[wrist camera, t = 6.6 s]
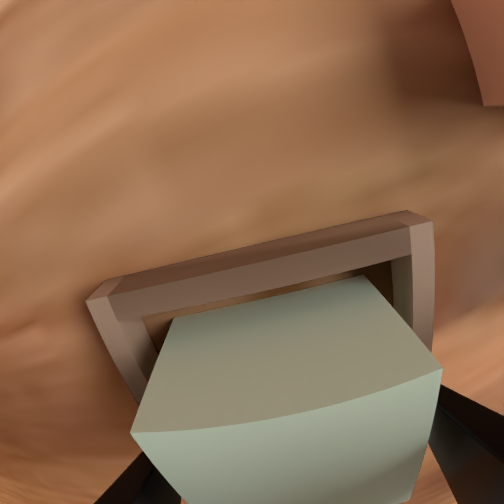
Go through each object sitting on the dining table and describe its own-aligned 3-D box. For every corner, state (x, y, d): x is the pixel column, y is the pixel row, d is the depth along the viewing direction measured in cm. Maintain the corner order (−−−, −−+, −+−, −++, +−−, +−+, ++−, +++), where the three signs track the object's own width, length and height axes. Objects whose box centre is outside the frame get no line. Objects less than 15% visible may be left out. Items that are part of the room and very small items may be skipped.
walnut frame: (405, 420, 11) (416, 443, 10) (199, 464, 12) (196, 489, 11) (407, 210, 9) (433, 220, 7) (105, 280, 9) (85, 300, 8)
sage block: (369, 403, 11) (409, 499, 6) (227, 434, 12) (222, 537, 7) (361, 271, 9) (443, 367, 5) (175, 314, 10) (129, 432, 5)
